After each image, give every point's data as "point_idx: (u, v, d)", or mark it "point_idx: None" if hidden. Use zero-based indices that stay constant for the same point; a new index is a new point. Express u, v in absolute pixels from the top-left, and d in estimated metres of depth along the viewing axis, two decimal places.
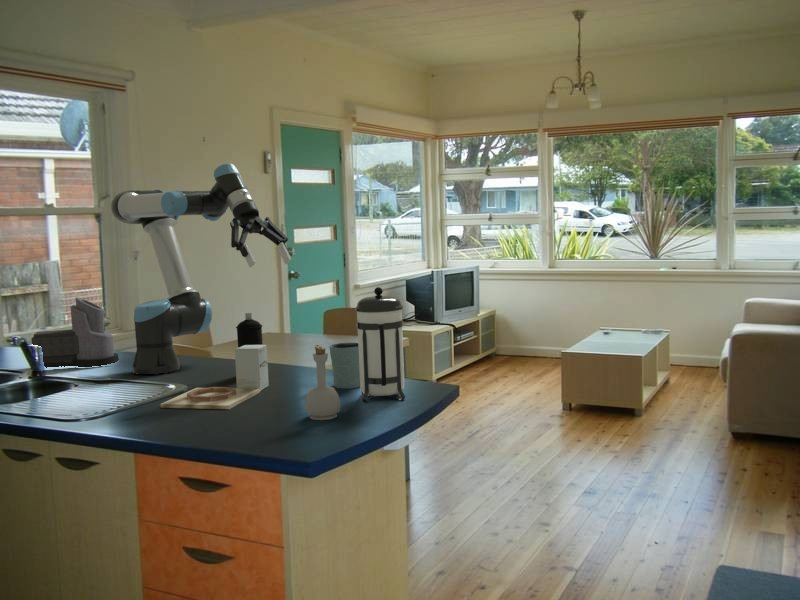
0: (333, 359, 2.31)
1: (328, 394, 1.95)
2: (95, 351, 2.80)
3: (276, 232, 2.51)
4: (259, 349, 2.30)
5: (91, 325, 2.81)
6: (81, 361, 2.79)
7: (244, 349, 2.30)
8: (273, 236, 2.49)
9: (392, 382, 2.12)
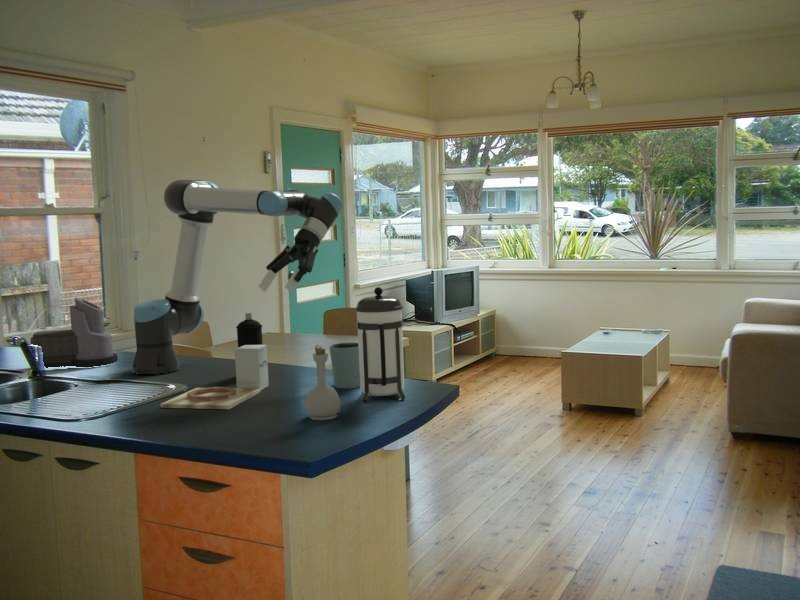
0: (333, 359, 2.31)
1: (328, 394, 1.95)
2: (94, 351, 2.80)
3: None
4: (259, 349, 2.30)
5: (90, 325, 2.81)
6: (80, 361, 2.79)
7: (244, 349, 2.30)
8: (281, 267, 2.47)
9: (392, 382, 2.12)
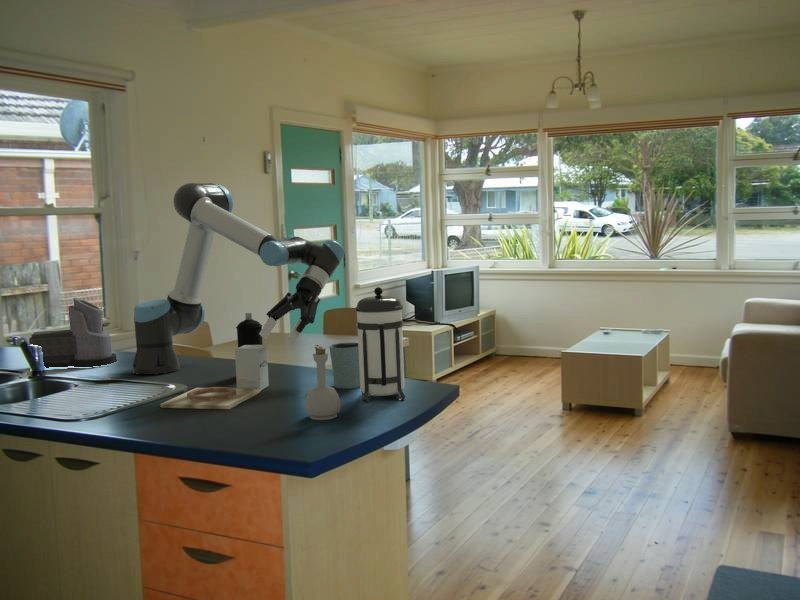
0: (333, 359, 2.31)
1: (329, 394, 1.95)
2: (93, 351, 2.80)
3: None
4: (259, 349, 2.30)
5: (88, 325, 2.80)
6: (79, 361, 2.78)
7: (244, 349, 2.30)
8: (282, 314, 2.47)
9: (391, 382, 2.12)
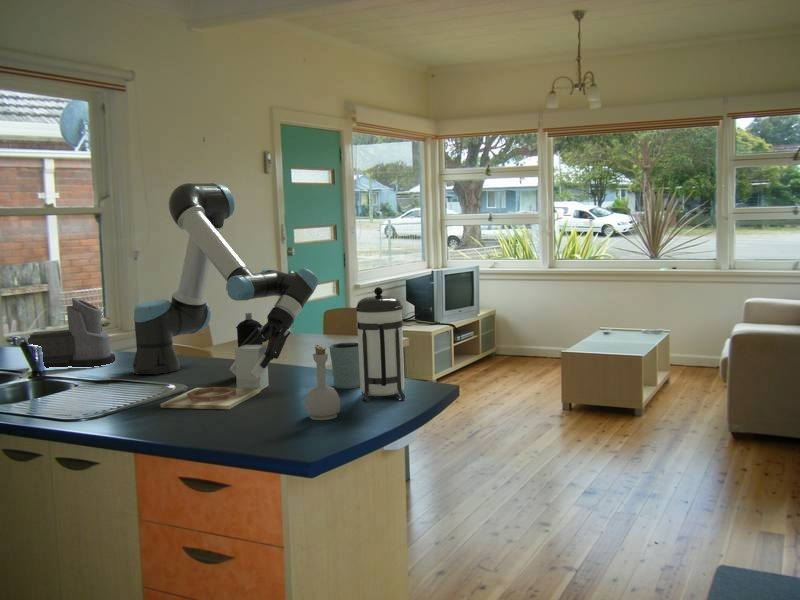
0: (333, 359, 2.31)
1: (329, 394, 1.95)
2: (91, 351, 2.80)
3: None
4: (259, 349, 2.30)
5: (87, 325, 2.80)
6: (77, 362, 2.78)
7: (244, 349, 2.30)
8: None
9: (391, 382, 2.12)
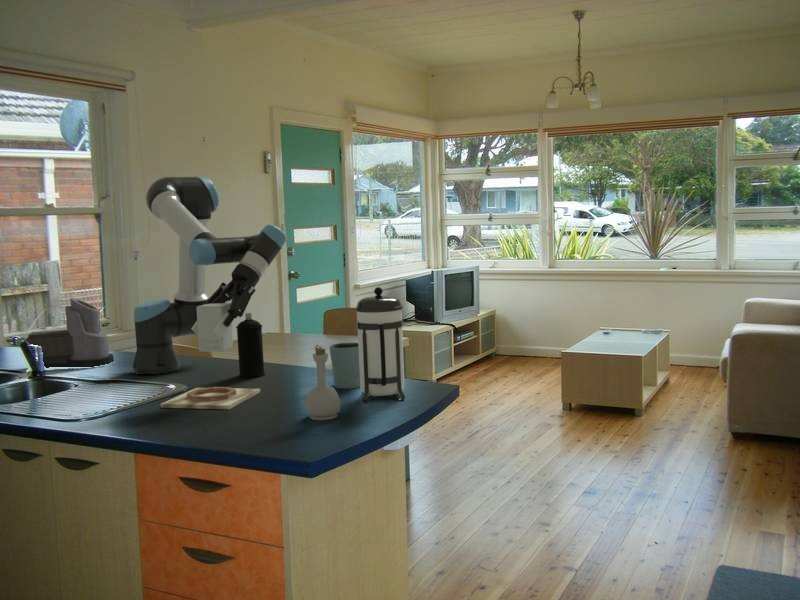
0: (333, 359, 2.31)
1: (328, 394, 1.95)
2: (89, 351, 2.79)
3: None
4: (222, 307, 2.18)
5: (85, 325, 2.80)
6: (75, 362, 2.78)
7: (206, 307, 2.18)
8: None
9: (391, 382, 2.12)
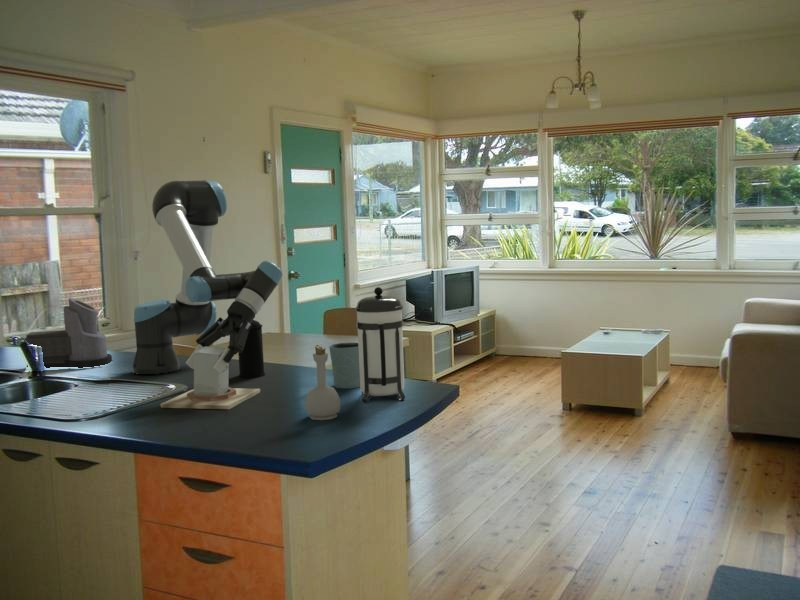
0: (333, 359, 2.31)
1: (328, 394, 1.95)
2: (88, 352, 2.79)
3: None
4: (220, 355, 2.17)
5: (83, 326, 2.79)
6: (73, 362, 2.77)
7: (204, 353, 2.17)
8: (212, 341, 2.28)
9: (391, 382, 2.12)
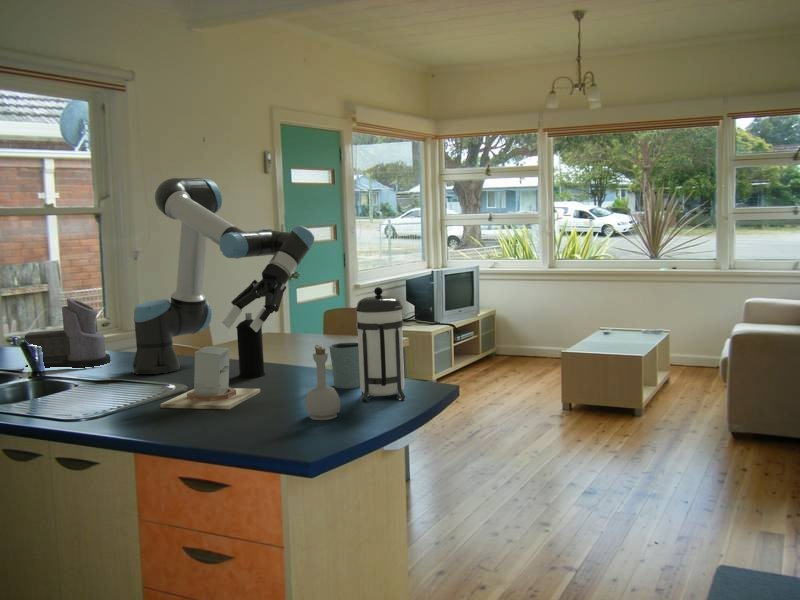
0: (333, 359, 2.31)
1: (328, 394, 1.95)
2: (86, 352, 2.79)
3: None
4: (221, 354, 2.17)
5: (82, 326, 2.79)
6: (72, 362, 2.77)
7: (205, 353, 2.17)
8: (247, 302, 2.36)
9: (391, 382, 2.12)
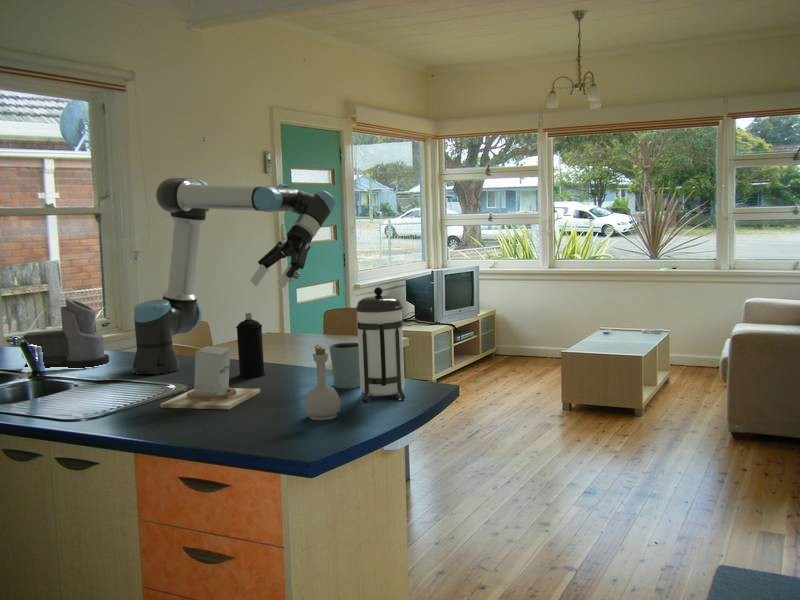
0: (333, 359, 2.31)
1: (328, 394, 1.95)
2: (84, 352, 2.78)
3: None
4: (221, 354, 2.17)
5: (80, 326, 2.79)
6: (70, 362, 2.77)
7: (205, 353, 2.17)
8: (273, 262, 2.51)
9: (391, 382, 2.12)
